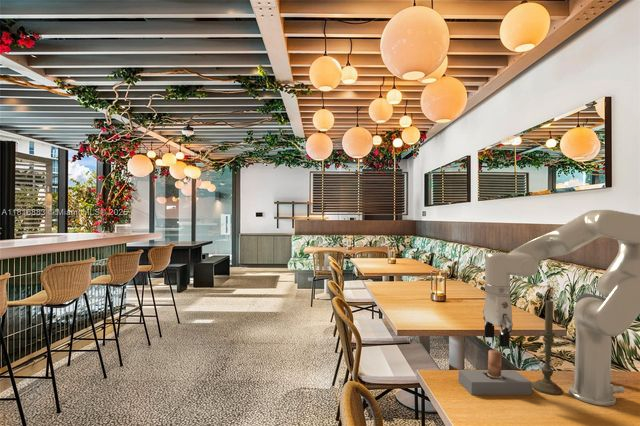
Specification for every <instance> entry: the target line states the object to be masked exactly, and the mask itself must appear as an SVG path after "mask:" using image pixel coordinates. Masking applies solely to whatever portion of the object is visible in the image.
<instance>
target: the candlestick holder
mask: <svg viewBox="0 0 640 426" xmlns="http://www.w3.org/2000/svg"><path fill="white" fill-rule="evenodd" d="M544 316H545V317H544V319H545V320H544V331H542V332H541V335H543V337H542V341H543V342H544V343H545V345H544V350H543V351H544V353H545V354H544V355H545V356H544V362H545V364H544V366H543V367H541V373H542V374H543V378H542V379H538V380H536V381H532V389H534V390H535V391H537V392H539V393H543V394H547V395H552V396H553V395H554V396H556V395H557V396H558V395H562V393H563V389H562V388H561V387H560V386H559V385H558V384H557V383H556V382H554V381H553V380H552V379H551V377H552V376H553V374H554V370H553V368H552V367H551V354H552V344H553V343H554V342H555V340H554V337H555V336H556V334H555V333H554V332H553V319H554V301H553V300H551V299H549V300H546V301H545V315H544Z"/></svg>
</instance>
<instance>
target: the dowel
mask: <svg viewBox="0 0 640 426" xmlns="http://www.w3.org/2000/svg"><path fill="white" fill-rule="evenodd" d="M487 353H488V359H487V370H488V374H487V375H488V376H489V379H500V378H501V370H502V356H503V355H502V354H503V352H502V351H500V350H495V349H489V350H488V352H487Z"/></svg>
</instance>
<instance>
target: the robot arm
mask: <svg viewBox="0 0 640 426" xmlns="http://www.w3.org/2000/svg"><path fill="white" fill-rule="evenodd" d="M598 238H599V239H600V238H609V239H613V240H617V243H618V252H617V254H616V257H615V258H614V259H613V260H612V262H611V263H610V265H609V266H608V268H607V269H606V270H605V271H604V273H603V274H602V275H601V277H600V278H599V279H598V281H597V284H596V287H597V288H596V289H597V291H598V293H599V294H600V296H602V297H604V298H606V299H605V301H603V300H600V299H597V298H593V297H587V298H583V299H581V300H579V301H578V302H577V301H576V302H575V303H576V304H575V306H574V308H573V319H574V320H573V321H574V326H575V327H574V328H575V348H574V349H575V351H574V378H573V379H574V383H573V385H569V387H568V393H569V394H570V396H572V397H574V398H575V399H576V400H579V401H581V402H584V403H588V404H590V405H596V406H605V407H607V406H613V405H615V404H616V403H617V398H616V397H615V396H614V395H615V394H616V393H617V394H624V393H625V391H626V390H625V388H624V387H623V386H614V384H612V383H611V378H612V377H611V376H612V375H611V373H612V371H611V370H612V347H613V345H612V337H617V336H620V335H622V334H624V333H625V332H626V331H627V330H628V329H629V328H630V327H631V325H632V324H634V321H635V320H636V319H637V318H638V317H639V315H640V214H635V213H629V212H624V211H619V210H614V209H612V210H611V209H594V210H589V211H587V212H583V214H580V215H579V216H577V217H576V218H574V219H572V220H570V221H569V222H567V223H565V224H563V225H562V226H559V227H558V228H556V229H553V230H552V231H550V232H547V233H545V234H543V235H541V236H539V237H536V238H534V239H532V240H529V241H528V242H525V243H524V244H522V245H520V246H518V247H515V249H513V250H511V251H510V252H509V253H504V252H487V253H486V255H485V259H484V261H485V262H484V263H485V264H484V265H485V266H484V267H485V269H484V270H485V272H484V276H485V277H484V294H485V297H484V309H483V310H482V315H483V320H484V322H483V324H484V337H485V338H486V339H487V338H488V339H489V338H495V327H498V330H499V332H500V333H499V336H498V339H499V340H498V345H499V347H500V348H508V347H510V346H511V345H510V344H511V335H512V331H513V325H514V323H513V309H512V300H511V297H510V296H511V295H510V293H511V288H510V287H511V276H516V277H522V278H527V277H529V278H530V277H532V276H535V274H537V273H538V271H539V267H540V266H539V265H540V264H539V262H540V261H542V260H543V261H544V260H545V259H548V258H552V257H553V258H554V257H561V256H565V255H568V254H571V253H573V252H575V251H576V250H579V249H580V248H582V247H584V246H586V245H588V244H590V243H592V242H593V241H594V240H597V239H598Z"/></svg>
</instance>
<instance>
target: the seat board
mask: <svg viewBox="0 0 640 426" xmlns="http://www.w3.org/2000/svg"><path fill="white" fill-rule="evenodd" d="M487 374H488V369H458V381H457V382H458V383H459V384H460V385H461V386H462V387H463V388H464V389H465V390H466V391H467V392H468V393H469V394H470V395H471V396H473V395H474V396H477V395H478V396H483V395H485V396H486V395H487V396H489V395H490V396H494V395H495V396H496V395H497V396H503V395H504V396H514V395H516V396H520V395H521V396H532V395H533V387H532V383H533V381H531V380H530V379H528V378H527V377H525V376H524V375H522V374H521V373H520V372H518V371H517V370H515V369H514V370H513V369H501V378H500V379H489V376H488V375H487Z"/></svg>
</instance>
